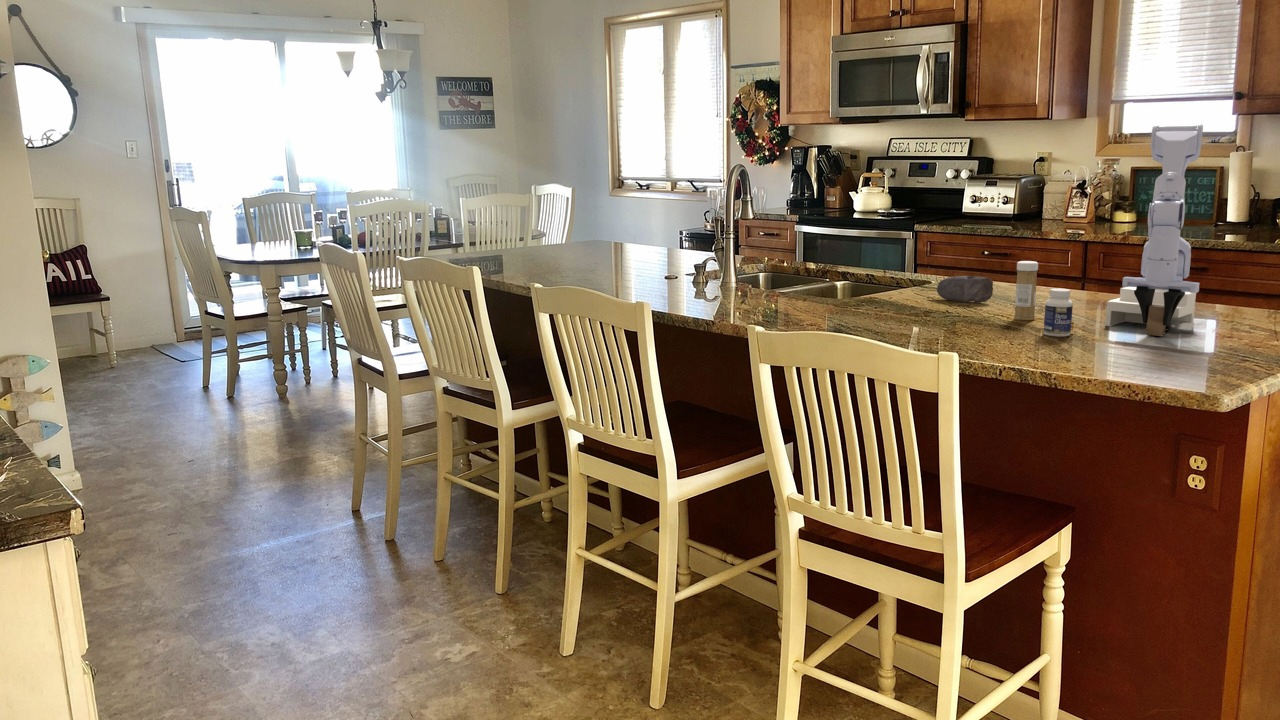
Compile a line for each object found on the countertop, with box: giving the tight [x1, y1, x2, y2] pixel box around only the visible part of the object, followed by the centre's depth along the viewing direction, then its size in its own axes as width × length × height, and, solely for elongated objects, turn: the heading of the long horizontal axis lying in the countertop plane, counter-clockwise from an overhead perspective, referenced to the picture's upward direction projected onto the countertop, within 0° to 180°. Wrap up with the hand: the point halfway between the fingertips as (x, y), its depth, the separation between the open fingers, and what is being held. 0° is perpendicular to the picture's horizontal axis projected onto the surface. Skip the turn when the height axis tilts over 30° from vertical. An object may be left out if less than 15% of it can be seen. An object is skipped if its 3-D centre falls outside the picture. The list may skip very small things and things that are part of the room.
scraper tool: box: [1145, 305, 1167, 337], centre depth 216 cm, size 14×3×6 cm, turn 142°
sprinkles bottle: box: [1013, 260, 1039, 322], centre depth 233 cm, size 5×5×13 cm
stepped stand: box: [1105, 287, 1197, 327], centre depth 222 cm, size 9×15×8 cm, turn 42°
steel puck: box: [1166, 321, 1195, 335], centre depth 217 cm, size 5×5×2 cm
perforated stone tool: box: [936, 275, 994, 304], centre depth 260 cm, size 15×5×7 cm, turn 41°
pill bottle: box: [1042, 287, 1074, 338], centre depth 215 cm, size 5×5×10 cm
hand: (1156, 323), depth 211 cm, fingers closed on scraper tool, 3 cm apart
